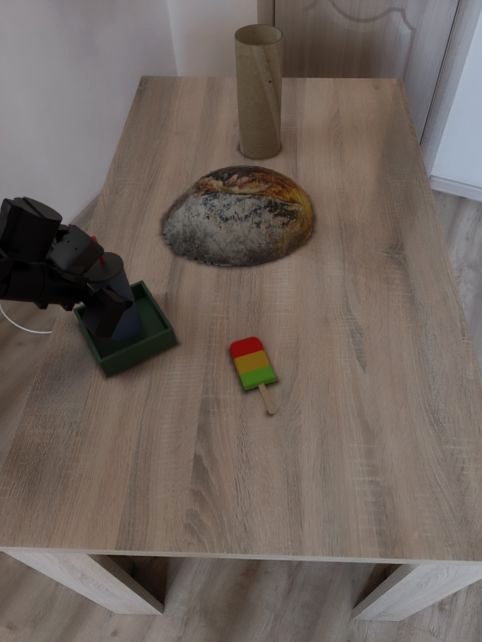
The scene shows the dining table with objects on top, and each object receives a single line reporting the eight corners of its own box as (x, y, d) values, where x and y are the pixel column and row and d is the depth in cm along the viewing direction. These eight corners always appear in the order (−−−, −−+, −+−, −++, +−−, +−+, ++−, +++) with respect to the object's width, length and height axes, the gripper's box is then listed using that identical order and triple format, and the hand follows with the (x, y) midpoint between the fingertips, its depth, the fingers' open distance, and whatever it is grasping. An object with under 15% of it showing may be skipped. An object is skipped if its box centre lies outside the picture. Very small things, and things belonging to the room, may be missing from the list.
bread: (324, 260, 95) (329, 221, 87) (161, 272, 94) (151, 233, 85) (304, 176, 111) (307, 136, 103) (164, 186, 109) (155, 146, 101)
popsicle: (257, 339, 84) (257, 333, 83) (288, 411, 76) (289, 405, 75) (228, 348, 83) (227, 342, 82) (256, 421, 75) (256, 416, 74)
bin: (106, 377, 80) (99, 363, 76) (80, 324, 86) (72, 308, 83) (177, 344, 84) (173, 328, 80) (147, 295, 90) (142, 279, 87)
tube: (287, 144, 118) (292, 32, 98) (264, 163, 114) (264, 50, 93) (255, 131, 122) (253, 20, 101) (231, 149, 117) (224, 37, 96)
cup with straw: (132, 344, 79) (98, 257, 65) (96, 336, 81) (56, 250, 67) (150, 316, 83) (122, 229, 69) (115, 309, 85) (81, 222, 71)
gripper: (93, 265, 58) (178, 280, 71) (18, 195, 65) (107, 221, 79) (59, 340, 61) (146, 341, 74) (-9, 265, 69) (81, 278, 82)
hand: (120, 292), depth 77 cm, fingers closed on cup with straw, 6 cm apart
